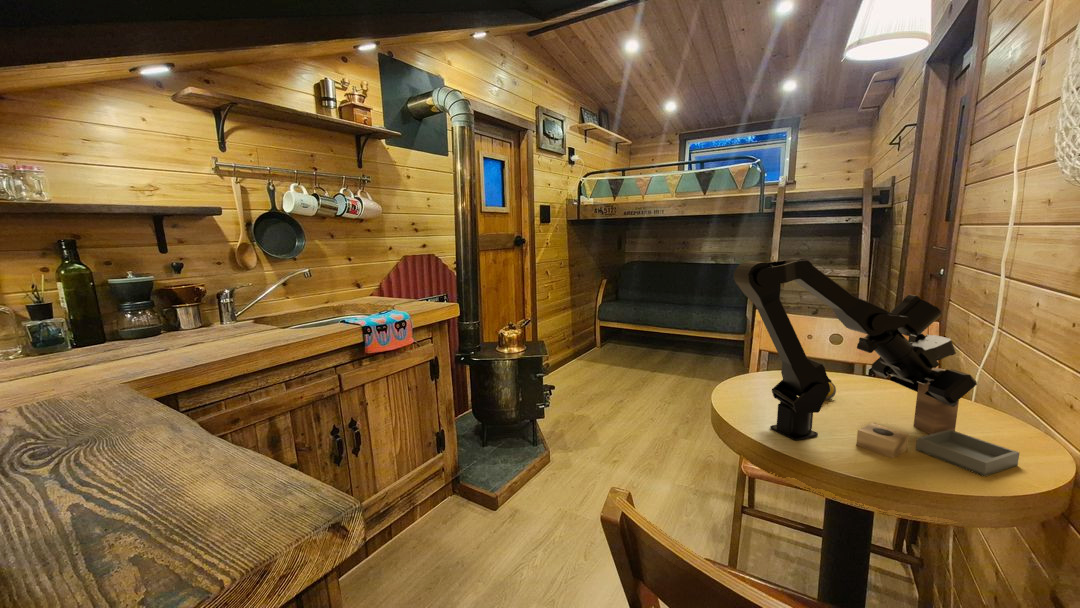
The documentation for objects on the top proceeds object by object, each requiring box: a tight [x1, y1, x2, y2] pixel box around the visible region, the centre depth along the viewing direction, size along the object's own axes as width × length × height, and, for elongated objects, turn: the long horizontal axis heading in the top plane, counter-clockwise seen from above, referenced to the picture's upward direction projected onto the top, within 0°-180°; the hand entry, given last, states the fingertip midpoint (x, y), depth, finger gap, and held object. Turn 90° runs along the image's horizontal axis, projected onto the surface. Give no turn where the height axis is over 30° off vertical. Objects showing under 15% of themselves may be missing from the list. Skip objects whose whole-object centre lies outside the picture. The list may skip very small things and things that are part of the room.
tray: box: [915, 429, 1020, 477], centre depth 77 cm, size 10×10×2 cm
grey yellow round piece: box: [825, 381, 837, 401], centre depth 106 cm, size 5×5×10 cm
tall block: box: [913, 367, 960, 435], centre depth 87 cm, size 4×4×13 cm
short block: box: [855, 422, 910, 459], centre depth 81 cm, size 6×6×4 cm
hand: (943, 400), depth 87 cm, fingers closed on tall block, 4 cm apart
